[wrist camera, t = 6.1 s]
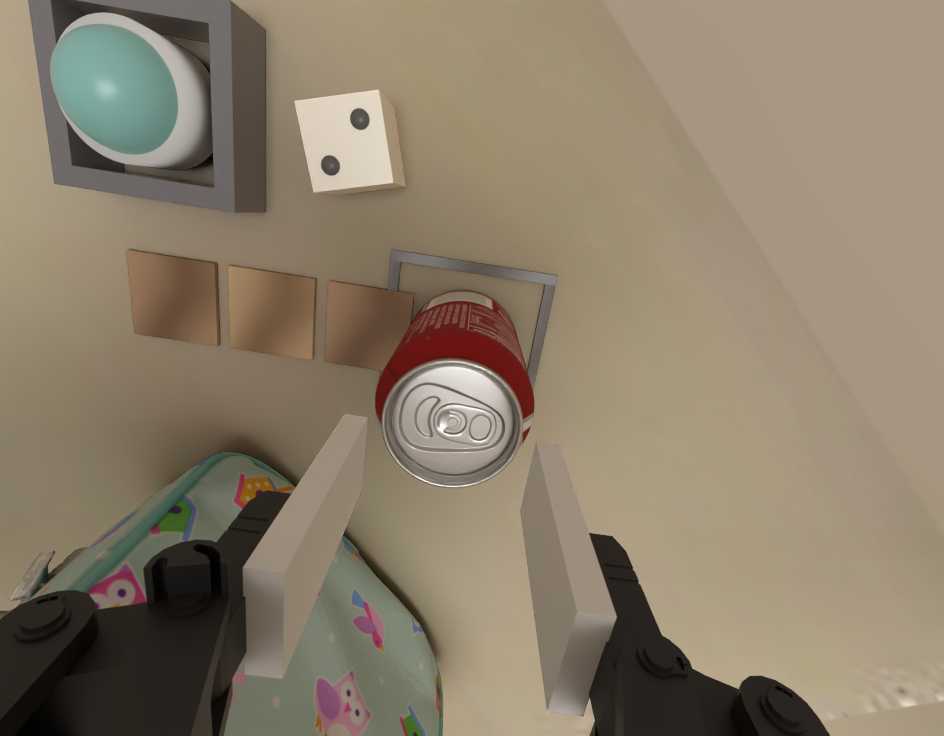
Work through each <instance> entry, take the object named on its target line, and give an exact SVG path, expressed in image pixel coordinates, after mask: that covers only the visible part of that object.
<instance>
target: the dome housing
mask: <svg viewBox="0 0 944 736" xmlns="http://www.w3.org/2000/svg"><path fill="white" fill-rule="evenodd" d="M28 3H29V10H30V17H31V24H32V31H33V38H34V45H35V52H36V59H37V65H38V72H39V79H40V86H41V93H42V100H43V107H44V114H45V121H46V128H47V135H48V142H49V149H50V156H51V163H52V170H53V177H54V184H59V185H66V186H72V187H78V188H84V189H91V190H97V191H103V192H110V193H116V194H122V195H129V196H135V197H141V198H148V199H154V200H160V201H167V202H173V203H179V204H186V205H192V206H198V207H205V208H211V209H217V210H224V211H230V212H265V91H266V30H265V29H264V28H263V27H262V26H260V25H259V24H258V23H257V22H256V21H254V20H253V19H252V18H251V17H250V16H248V15H247V14H246V13H245V12H244V11H243V10H241V9H240V8H239V7H238V6H237V5H235V4H234V3H233V2H232V1H231V0H28ZM103 12H105V13H114V14H118V15H122V16H125V17H127V18H130V19H132V20H134V21H136V22H138V23H140V24H141V25H143V26H145V27H147V28H149V29H151V30H152V31H154V32H156V33H158V34H162V35H167V36H173V37H179V38H185V39H191V40H197V41H203V42H208V43H209V50H210V79H211V108H212V137H213V166H214V185H208V184H202V183H195V182H189V181H183V180H177V179H170V178H164V177H158V176H152V175H145V174H139V173H133V172H127V171H124V164H123V163H120V162H117V161H114V160H111V159H109V158H107V157H105V156H103V155H101V154H100V153H98V152H97V151H95V150H94V149H92V148H91V147H90V146H89V145H87V144H86V143H85V142H84V141H83V140H82V139H81V138H80V137H79V136H78V134H77V133H76V132H75V131H74V130H73V128H72V127H71V125H70V124H69V122H68V121H67V119H66V118H65V116H64V114H63V112H62V110H61V108H60V105H59V103H58V100H57V98H56V95H55V93H54V90H53V87H52V82H51V77H50V62H51V56H52V53H53V50H54V48H55V46H56V44H57V42H58V40H59V38H60V36H61V35H62V34H63V32H64V31H65V29H66V28H67V27H68V26H69V25H70V24H71V23H73V22H74V21H76V20H77V19H79V18H81V17H83V16H86V15H89V14H93V13H103Z"/></svg>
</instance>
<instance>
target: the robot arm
mask: <svg viewBox="0 0 944 736" xmlns="http://www.w3.org/2000/svg"><path fill="white" fill-rule="evenodd" d="M367 426H368V417H363V416H356V415H349V414H344V415H343V417H342V418H341V420H340V421H339V423H338V424H337V426H336V427H335V429H334V430H333V432H332V433H331V435H330V436H329V438H328V439H327V441H326V443H325V444H324V446H323V447H322V449H321V450H320V452H319V453H318V455H317V456H316V458H315V459H314V461H313V462H312V464H311V465H310V467H309V468H308V470H307V471H306V473H305V474H304V476H303V477H302V479H301V480H300V482H299V483H298V485H297V486H296V488H295V489H294V491H293V492H292V494H290V493H283V492H276V491H268V490H266V491H264V492H263V493H261V494H260V495H258V496H256V497H255V498H253V499H252V500H250V501H249V502H248V503H247V504H246V505H245V507H244V508H243V509H242V510H241V512H240V513H239V514H238V515H237V518H235V519H234V520H233V522H232V523H231V524H230V526H229V527H228V530H227V531H225V532H224V533H223V534H222V536H221V537H220V538H219V539H218V541H217V542H214V541H212V540H199V539H197V540H191V541H185V542H180V543H178V544H175V545H173V546H170V547H167V548H165V549H164V550H162V551H161V552H159V553H158V554H156V555H155V556H153V557H152V558H151V559H150V560H149V562H148V563H147V564H146V565H145V567H144V568H143V572H144V581H145V590H146V599H147V602H143V603H138V604H133V605H126V606H118V607H111V608H103V609H96V607H95V601H94V600H93V599H92V598H91V596H90V595H89V594H88V593H84V592H81V591H78V590H64V591H56V592H52V593H49V594H45V595H41V596H38V597H36V598H34V599H32V600H30V601H27V602H25V603H23V604H21V605H19V606H18V607H16V608H15V609H13V610H12V611H11V612H9V613H8V614H6V615H5V616H4V617H2V618H1V619H0V736H224V732H225V728H226V723H227V718H228V714H229V709H230V705H231V700H232V696H233V682H232V679H233V677H234V675H235V673H236V671H237V669H238V667H239V665H240V663H241V661H242V660H243V658H244V657H245V675H254V676H262V677H270V678H278V679H283V677H284V675H285V672H286V670H287V667H288V665H289V663H290V660H291V658H292V655H293V653H294V651H295V648H296V646H297V644H298V641H299V639H300V636H301V634H302V632H303V629H304V627H305V625H306V622H307V620H308V617H309V615H310V613H311V610H312V608H313V605H314V603H315V601H316V598H317V596H318V594H319V591H320V589H321V586H322V584H323V582H324V579H325V577H326V575H327V572H328V570H329V567H330V565H331V563H332V560H333V558H334V555H335V553H336V551H337V548H338V546H339V544H340V541H341V539H342V536H343V534H344V532H345V529H346V527H347V524H348V522H349V520H350V517H351V515H352V513H353V510H354V508H355V505H356V503H357V501H358V498H359V496H360V494H361V491H362V486H363V474H364V462H365V450H366V438H367ZM520 512H521V520H522V527H523V535H524V542H525V550H526V557H527V565H528V572H529V580H530V587H531V595H532V602H533V610H534V617H535V625H536V632H537V639H538V647H539V654H540V662H541V669H542V677H543V684H544V692H545V699H546V707H547V712H554V713H562V714H571V715H579V716H583V715H584V712H585V709H586V706H587V703H588V700H589V697H590V700H591V705H592V709H593V714H594V718H595V722H594V725H593V728H592V730H591V733H590V736H830V735H829V733H828V732H827V730H826V729H825V727H824V725H823V724H822V722H821V721H820V719H819V718H818V716H817V715H816V714H815V713H814V711H813V710H812V709H811V708H810V706H809V705H808V704H807V703H806V702H805V701H804V700H803V699H802V698H801V697H799V696H798V695H797V694H796V693H795V692H794V691H792V690H791V689H789V688H788V687H786V686H784V685H783V684H781V683H779V682H778V681H776V680H773V679H770V678H767V677H763V676H749V677H748V678H746V679H745V680H744V681H742V683H741V685H740V687H739V689H736V688H734V687H732V686H729V685H727V684H725V683H722V682H720V681H717V680H715V679H713V678H710V677H708V676H705V675H703V674H702V673H700V672H698V671H696V670H694V669H692V667H691V664H690V662H689V660H688V659H687V657H686V656H685V655H684V653H683V652H682V651H681V649H680V648H678V647H677V646H676V645H675V644H674V643H672V642H671V641H670V640H669V639H667V638H665V637H663V636H662V635H661V632H660V630H659V628H658V625H657V623H656V621H655V618H654V616H653V614H652V611H651V609H650V607H649V604H648V602H647V600H646V597H645V595H644V592H643V590H642V588H641V585H640V584H638V578H637V576H636V574H635V571H633V567H632V564H631V562H630V560H629V557H628V555H627V553H626V551H625V550H624V549H623V548H622V546H621V545H620V544H619V543H618V542H617V541H616V540H615V539H614V538H613V536H606V535H599V534H592V533H589V532H588V529H587V526H586V523H585V520H584V518H583V515H582V512H581V509H580V506H579V503H578V500H577V497H576V494H575V491H574V488H573V485H572V482H571V479H570V476H569V473H568V470H567V467H566V464H565V461H564V458H563V455H562V452H561V449H560V446H559V445H558V444H551V443H544V442H537V441H536V443H535V448H534V452H533V457H532V461H531V466H530V470H529V475H528V479H527V484H526V488H525V493H524V497H523V502H522V506H521V511H520Z"/></svg>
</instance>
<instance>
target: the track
mask: <svg viewBox="0 0 944 736" xmlns="http://www.w3.org/2000/svg"><path fill="white" fill-rule="evenodd" d="M126 252H127V263H128V273H129V283H130V293H131V303H132V313H133V323H134V333H135V334H140V335H146V336H153V337H160V338H167V339H173V340H180V341H187V342H194V343H200V344H207V345H214V346H218V345H220V330H219V300H218V271H217V263H214V262H207V261H201V260H194V259H188V258H181V257H175V256H168V255H162V254H155V253H149V252H142V251H136V250H126ZM401 262H406V263H412V264H419V265H425V266H432V267H438V268H444V269H451V270H457V271H464V272H470V273H476V274H483V275H489V276H496V277H502V278H508V279H515V280H521V281H527V282H534V283H540V284H545V287H544V292H543V297H542V302H541V307H540V312H539V317H538V321H537V326H536V331H535V336H534V341H533V346H532V351H531V356H530V360H529V365H528V370H527V372H528V375H529V379H530V382H531V386H532V390H533V389H534V384H535V380H536V375H537V370H538V365H539V361H540V356H541V351H542V347H543V342H544V337H545V333H546V328H547V323H548V318H549V314H550V309H551V304H552V300H553V295H554V290H555V286H556V281H557V275H551V274H544V273H538V272H532V271H525V270H519V269H513V268H506V267H500V266H494V265H487V264H481V263H475V262H468V261H462V260H455V259H449V258H443V257H436V256H430V255H424V254H417V253H411V252H405V251H398V250H391V260H390V271H389V282H388V289H382V288H376V287H369V286H363V285H356V284H350V283H343V282H337V281H330V280H329V281H328V294H327V315H326V337H325V359H324V362H329V363H336V364H343V365H349V366H356V367H363V368H370V369H376V370H380V376H381V374H382V372H383V370H384V368H385V367H386V365H387V363H388V361H389V360H390V358H391V356H392V355H393V353H394V351H395V350H396V348H397V346H398V345H399V343H400V341H401V340H402V338H403V336H404V335H405V333H406V332H407V330H408V328H409V327H410V325H411V319H412V310H413V301H414V293H408V292H402V291H398V287H399V277H400V267H401ZM316 279H317V278H311V277H305V276H298V275H292V274H285V273H279V272H272V271H266V270H259V269H253V268H246V267H240V266H233V265H229V266H228V286H229V324H230V348H234V349H241V350H248V351H255V352H261V353H268V354H275V355H282V356H288V357H295V358H302V359H309V360H312V359H313V358H314V332H315V305H316Z"/></svg>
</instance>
